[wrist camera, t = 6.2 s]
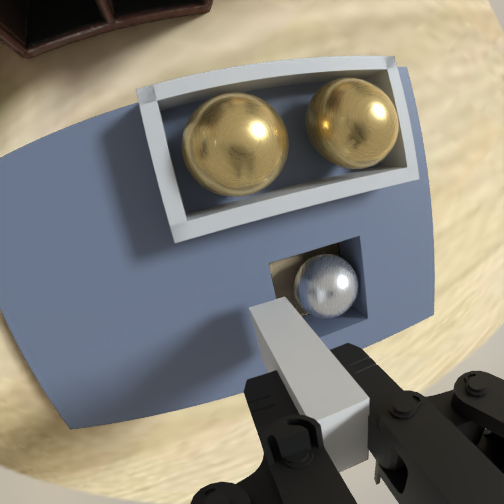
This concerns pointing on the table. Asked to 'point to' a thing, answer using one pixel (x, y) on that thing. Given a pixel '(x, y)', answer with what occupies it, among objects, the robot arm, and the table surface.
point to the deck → (199, 243)
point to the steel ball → (326, 286)
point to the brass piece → (235, 144)
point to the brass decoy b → (352, 123)
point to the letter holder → (80, 19)
